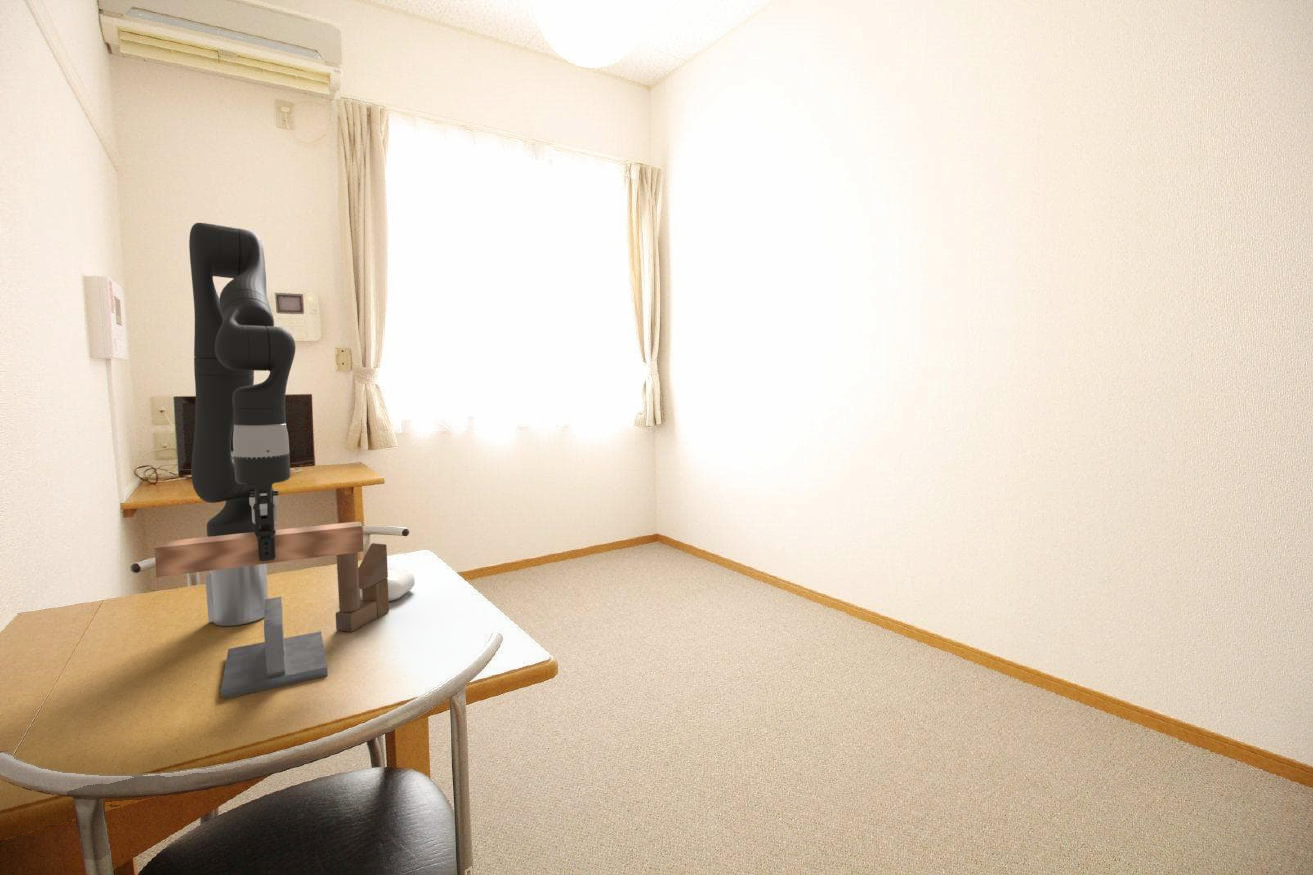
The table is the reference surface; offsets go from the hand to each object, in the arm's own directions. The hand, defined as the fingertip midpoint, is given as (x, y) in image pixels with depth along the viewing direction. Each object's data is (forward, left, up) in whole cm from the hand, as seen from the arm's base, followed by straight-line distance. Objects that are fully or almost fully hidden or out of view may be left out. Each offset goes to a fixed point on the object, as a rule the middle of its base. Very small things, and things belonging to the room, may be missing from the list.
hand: (267, 556), depth 100 cm
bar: (0, 0, -1) cm, 1 cm away
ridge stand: (0, 0, -19) cm, 19 cm away
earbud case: (+1, +33, -19) cm, 38 cm away
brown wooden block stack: (+5, +19, -19) cm, 28 cm away
